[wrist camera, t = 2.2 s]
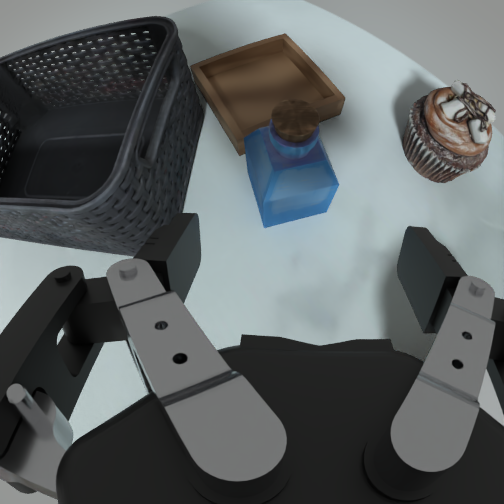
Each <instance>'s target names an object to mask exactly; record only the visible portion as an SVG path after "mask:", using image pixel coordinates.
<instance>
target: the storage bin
mask: <svg viewBox="0 0 504 504" xmlns="http://www.w3.org/2000/svg"><path fill="white" fill-rule="evenodd" d="M144 31H149V33H143V32H144ZM131 33H136V34H134V35H131ZM119 35H125V36H119ZM108 37H113V38H111V39H108ZM147 38H149V39H151V40H146V39H147ZM98 39H103V40H102V41H98ZM138 39H139V40H140V41H134V40H138ZM90 41H92V42H91V43H87V42H90ZM122 42H128V43H125V44H123V43H122ZM79 43H82V45H78V44H79ZM114 43H116V44H117V45H111V44H114ZM150 45H153V46H154V47H149V46H150ZM68 46H73V47H71V48H69V47H68ZM101 46H106V47H101ZM137 46H139V47H142V48H138V49H137ZM94 47H95V48H96V49H91V48H94ZM61 48H64V50H60V49H61ZM128 48H131V50H126V49H128ZM81 50H85V51H83V52H82V51H81ZM115 50H120V51H118V52H115ZM51 51H55V52H53V53H52V52H51ZM73 52H76V53H74V54H73ZM106 52H109V53H106ZM152 52H156V53H155V54H152ZM44 53H47V54H44ZM105 53H106V54H105ZM142 53H145V55H140V54H142ZM64 54H67V55H66V56H63V55H64ZM94 54H99V55H97V56H95V55H94ZM37 55H39V57H36V56H37ZM129 55H134V56H131V57H129ZM56 56H59V58H55V57H56ZM85 56H90V57H85ZM120 56H123V58H118V57H120ZM30 57H32V59H28V58H30ZM76 58H80V59H78V60H76ZM110 58H112V59H111V60H108V59H110ZM47 59H51V60H47ZM22 60H25V61H24V62H22ZM41 60H43V62H40V61H41ZM67 60H71V61H67ZM99 60H103V61H99ZM143 60H148V61H145V62H144V61H143ZM134 61H137V62H136V63H133V62H134ZM16 62H18V63H16ZM59 62H63V63H61V64H59ZM88 62H92V63H91V64H89V63H88ZM32 63H36V64H34V65H33V64H32ZM82 63H83V64H84V65H79V64H82ZM121 63H126V64H123V65H122V64H121ZM28 64H29V66H26V65H28ZM51 64H55V65H51ZM113 64H116V66H112V65H113ZM9 65H11V66H9ZM43 66H47V67H45V68H44V67H43ZM71 66H74V67H71ZM101 66H106V67H104V68H102V67H101ZM147 66H151V67H147ZM19 67H22V68H19ZM64 67H66V69H63V68H64ZM36 68H40V69H36ZM92 68H96V69H92ZM135 68H139V69H135ZM14 69H16V70H14ZM55 69H58V70H57V71H55ZM125 69H130V70H125ZM30 70H32V71H30ZM83 70H86V71H83ZM114 70H118V71H117V72H115V71H114ZM25 71H26V73H23V72H25ZM47 71H51V72H47ZM75 71H78V72H75ZM105 72H109V73H105ZM148 72H149V73H148ZM40 73H43V74H40ZM66 73H70V74H66ZM97 73H99V74H98V75H96V74H97ZM139 73H143V74H142V75H141V74H139ZM17 74H19V75H17ZM34 74H36V75H34ZM60 74H62V75H60ZM87 75H91V76H87ZM128 75H131V76H128ZM51 76H54V77H51ZM118 76H122V77H118ZM45 77H47V78H46V79H44V78H45ZM78 77H80V78H78ZM21 78H24V79H21ZM70 78H74V79H70ZM101 78H103V80H99V79H101ZM108 78H110V79H108ZM163 78H165V79H163ZM141 79H144V80H143V81H142V80H141ZM62 80H64V81H62ZM90 80H94V81H90ZM133 80H135V81H133ZM31 81H34V82H31ZM55 81H58V82H55ZM83 81H85V82H83ZM114 82H115V83H114ZM121 82H123V83H121ZM25 83H26V84H25ZM48 83H49V84H48ZM73 83H77V84H73ZM165 83H168V84H165ZM42 84H44V85H42ZM67 84H69V85H67ZM102 84H105V85H102ZM94 85H98V86H94ZM59 86H60V87H59ZM134 86H136V87H134ZM52 87H55V88H52ZM80 87H81V88H80ZM86 87H87V88H86ZM127 87H128V88H127ZM115 88H117V89H115ZM39 89H41V90H39ZM70 89H72V90H70ZM109 89H110V90H109ZM159 89H161V90H159ZM63 90H65V91H63ZM97 90H99V91H97ZM32 91H34V92H32ZM90 91H93V92H90ZM139 91H141V92H139ZM127 92H129V93H127ZM109 93H110V94H109ZM101 94H104V95H101ZM86 96H87V97H86ZM113 97H115V98H113ZM63 100H64V101H63ZM50 102H51V103H50ZM54 105H55V106H54ZM0 111H1V113H0V123H1V126H0V136H1V138H0V237H3V238H9V239H16V240H22V241H28V242H35V243H41V244H48V245H54V246H61V247H68V248H75V249H82V250H90V251H97V252H104V253H112V254H119V255H127V256H135V255H136V254H137V252H138V251H139V250H140V248H141V247H142V246H143V244H145V242H146V241H147V239H149V237H150V235H151V234H152V233H153V232H154V230H156V229H158V228H159V227H161V226H163V225H169V224H170V222H171V221H172V220H173V218H174V217H175V216H176V214H177V213H182V208H183V203H184V198H185V194H186V189H187V184H188V180H189V175H190V171H191V167H192V162H193V158H194V154H195V150H196V145H197V141H198V137H199V133H200V129H201V125H202V122H203V110H202V107H201V105H200V103H199V97H198V95H197V93H196V88H195V84H194V82H193V80H192V75H191V72H190V69H189V68H188V65H187V59H186V56H185V54H184V52H183V49H182V43H181V41H180V39H179V37H178V29H177V26H176V24H175V22H174V21H173V20H171V19H169V18H166V17H161V16H152V17H144V18H137V19H130V20H125V21H119V22H114V23H109V24H106V25H100V26H96V27H92V28H88V29H84V30H80V31H76V32H73V33H69V34H65V35H62V36H58V37H55V38H53V39H49V40H46V41H43V42H40V43H37V44H34V45H31V46H29V47H26V48H23V49H20V50H18V51H15V52H13V53H11V54H8V55H5V56H3V57H1V58H0ZM4 127H5V129H4ZM19 130H20V131H19ZM8 131H9V133H8ZM12 133H13V135H12ZM16 137H17V138H16ZM5 138H6V140H4V139H5ZM15 138H16V140H15ZM8 143H9V145H8ZM12 146H13V147H12ZM1 147H2V149H1ZM5 150H6V152H5ZM9 153H10V154H9ZM2 157H3V160H2ZM1 161H2V162H1ZM6 161H7V162H6ZM3 169H4V170H3ZM2 171H3V172H2Z"/></svg>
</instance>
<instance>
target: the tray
mask: <svg viewBox="0 0 504 504" xmlns="http://www.w3.org/2000/svg"><path fill="white" fill-rule="evenodd" d="M190 67H191V70H192V74H193V77H194V81H195V83H196V85H197V87H198V88H199V90H200V91H201V93H202V95H203V96H204V98H205V99H206V101H207V103H208V104H209V106H210V108H211V109H212V111H213V113H214V114H215V116H216V117H217V119H218V121H219V122H220V124H221V126H222V127H223V129H224V131H225V132H226V134H227V136H228V137H229V139H230V141H231V142H232V144H233V146H234V147H235V149H236V151H237V153H238V154H239V156H241V155H243V154H245V145H244V137H246V136H247V135H249V134H250V133H252V132H254V131H255V130H257V129H259V128H262V127H266V126H269V124H270V120H271V119H272V117H271V114H272V110H273V109H274V107H275V106H276V105H277V104H278V103H280V102H281V101H284V100H288V99H298V100H303V101H305V102H308V103H310V104H311V105H312V106H313V107H315V109H316V110H317V112H318V114H319V118H320V119H319V122H321V121H324V120H327V119H329V118H332V117H335V116H337V115H340V114H341V111H342V108H343V104H344V101H345V97H344V96H343V94H342V93H341V92H340V91H339V90H338V89H337V87H336V86H335V85H334V84H333V83H332V82H331V81H330V79H329V78H328V77H327V76H326V75H325V74H324V73H323V72H322V71H321V69H320V68H319V67H318V66H317V65H316V64H315V63H314V62H313V61H312V60H311V59H310V58H309V57H308V56H307V55H306V54H305V53H304V52H303V50H302V49H301V48H300V47H299V46H298V45H297V44H296V43H295V42H294V41H293V40H292V39H291V38H290V37H288V36H287V35H286V34H282V35H278V36H274V37H271V38H268V39H264V40H261V41H258V42H254V43H251V44H248V45H245V46H242V47H239V48H236V49H233V50H231V51H228V52H225V53H222V54H219V55H217V56H214V57H212V58H209V59H206V60H204V61H201V62H199V63H196V64H194V65H191V66H190Z"/></svg>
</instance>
